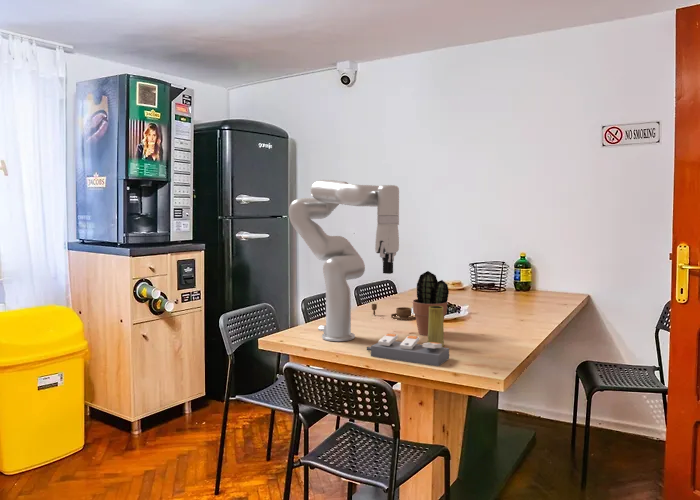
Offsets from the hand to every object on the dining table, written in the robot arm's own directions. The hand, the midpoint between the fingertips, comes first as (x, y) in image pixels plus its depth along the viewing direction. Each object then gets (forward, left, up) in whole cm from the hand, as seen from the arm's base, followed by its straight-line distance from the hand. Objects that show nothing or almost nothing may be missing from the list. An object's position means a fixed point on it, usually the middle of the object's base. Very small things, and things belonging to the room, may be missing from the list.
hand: (388, 273), depth 189 cm
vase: (+13, +13, -27) cm, 33 cm away
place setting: (-22, +55, -28) cm, 66 cm away
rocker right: (+19, -6, -22) cm, 30 cm away
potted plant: (+4, +30, -27) cm, 41 cm away
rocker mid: (+11, -6, -22) cm, 25 cm away
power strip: (+9, -6, -27) cm, 29 cm away
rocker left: (+3, -6, -22) cm, 23 cm away
